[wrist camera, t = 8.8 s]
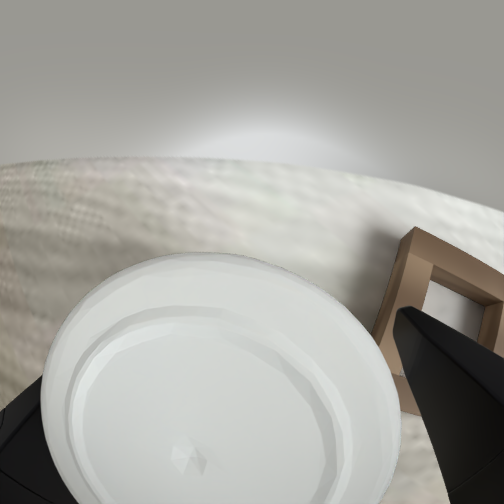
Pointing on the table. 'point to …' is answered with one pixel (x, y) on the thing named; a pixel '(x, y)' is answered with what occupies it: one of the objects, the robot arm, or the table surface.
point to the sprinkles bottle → (218, 390)
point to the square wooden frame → (414, 291)
